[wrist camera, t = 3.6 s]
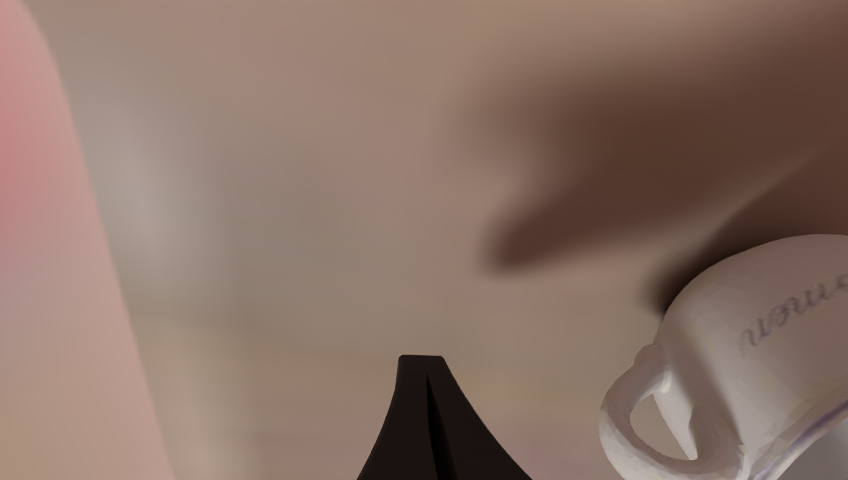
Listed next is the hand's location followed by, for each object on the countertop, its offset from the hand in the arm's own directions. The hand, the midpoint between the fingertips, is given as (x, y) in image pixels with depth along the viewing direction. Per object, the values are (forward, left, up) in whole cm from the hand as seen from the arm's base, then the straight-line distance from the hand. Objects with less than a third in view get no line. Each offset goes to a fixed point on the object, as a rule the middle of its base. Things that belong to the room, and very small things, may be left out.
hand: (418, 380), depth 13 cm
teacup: (0, -13, -5) cm, 14 cm away
